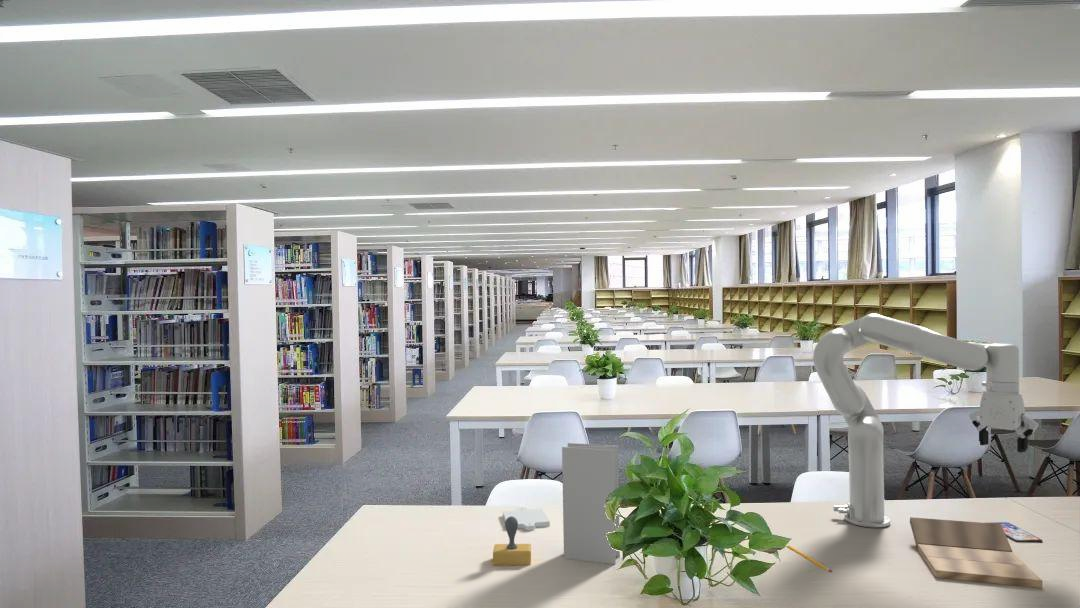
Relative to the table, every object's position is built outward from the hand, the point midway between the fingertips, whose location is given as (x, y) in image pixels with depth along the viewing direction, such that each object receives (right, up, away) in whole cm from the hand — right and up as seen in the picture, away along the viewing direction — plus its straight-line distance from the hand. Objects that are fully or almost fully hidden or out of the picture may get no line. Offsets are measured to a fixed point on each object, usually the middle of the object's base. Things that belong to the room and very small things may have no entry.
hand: (1002, 448), depth 183 cm
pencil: (-60, -27, -10) cm, 66 cm away
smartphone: (+6, -26, +5) cm, 27 cm away
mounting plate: (-135, -29, +22) cm, 140 cm away
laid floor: (-20, -26, -19) cm, 38 cm away
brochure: (-117, -28, -8) cm, 120 cm away
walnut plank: (-16, -23, -6) cm, 29 cm away
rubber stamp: (-138, -29, -9) cm, 141 cm away
